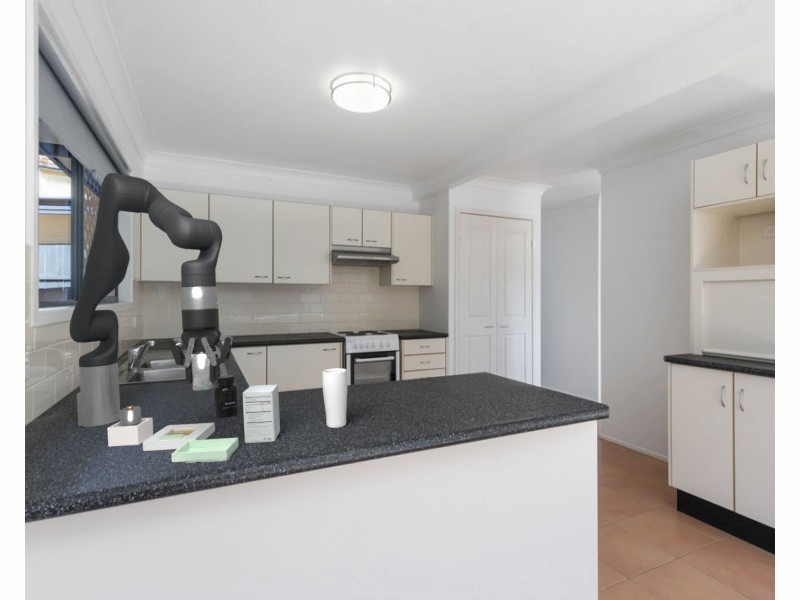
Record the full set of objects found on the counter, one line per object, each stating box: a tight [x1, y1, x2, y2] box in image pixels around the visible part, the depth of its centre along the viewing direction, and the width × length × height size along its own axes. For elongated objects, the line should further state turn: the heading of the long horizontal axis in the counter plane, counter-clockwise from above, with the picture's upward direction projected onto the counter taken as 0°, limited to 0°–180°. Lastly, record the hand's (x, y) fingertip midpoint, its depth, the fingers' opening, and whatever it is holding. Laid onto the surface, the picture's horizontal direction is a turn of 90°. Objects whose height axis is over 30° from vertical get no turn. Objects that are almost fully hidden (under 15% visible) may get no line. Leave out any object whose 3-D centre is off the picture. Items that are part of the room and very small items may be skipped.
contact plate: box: [170, 430, 195, 436], centre depth 103 cm, size 6×6×1 cm
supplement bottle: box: [213, 374, 240, 419], centre depth 124 cm, size 7×7×12 cm
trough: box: [171, 437, 240, 464], centre depth 94 cm, size 12×8×2 cm
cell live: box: [191, 352, 215, 392], centre depth 93 cm, size 4×4×9 cm
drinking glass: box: [321, 367, 349, 429], centre depth 112 cm, size 7×7×15 cm
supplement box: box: [242, 384, 281, 444], centre depth 104 cm, size 7×7×13 cm
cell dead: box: [119, 405, 142, 427], centre depth 104 cm, size 4×4×9 cm
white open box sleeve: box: [107, 417, 154, 447], centre depth 104 cm, size 7×7×5 cm
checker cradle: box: [142, 422, 216, 452], centre depth 103 cm, size 12×12×3 cm
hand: (203, 382), depth 93 cm, fingers closed on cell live, 4 cm apart
